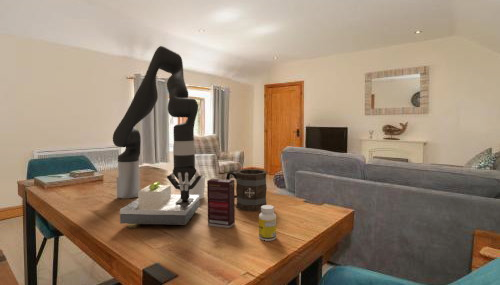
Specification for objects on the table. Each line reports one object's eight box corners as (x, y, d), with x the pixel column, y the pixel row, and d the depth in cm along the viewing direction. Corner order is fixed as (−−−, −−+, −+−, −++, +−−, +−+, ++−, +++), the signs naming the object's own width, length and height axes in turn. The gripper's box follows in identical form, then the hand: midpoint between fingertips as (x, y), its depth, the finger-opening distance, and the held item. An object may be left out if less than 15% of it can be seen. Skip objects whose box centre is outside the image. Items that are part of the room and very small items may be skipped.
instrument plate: (120, 213, 91) (119, 189, 90) (145, 197, 111) (145, 177, 110) (185, 215, 90) (184, 190, 89) (199, 198, 110) (199, 178, 109)
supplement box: (235, 223, 96) (235, 179, 95) (229, 228, 92) (229, 182, 91) (213, 220, 99) (213, 177, 98) (207, 225, 95) (206, 180, 93)
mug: (272, 204, 119) (273, 170, 118) (257, 213, 107) (257, 176, 106) (235, 198, 129) (235, 167, 128) (217, 205, 117) (217, 171, 116)
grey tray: (120, 229, 91) (120, 214, 91) (146, 210, 111) (145, 198, 111) (185, 230, 90) (185, 215, 90) (199, 211, 110) (199, 199, 110)
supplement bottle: (257, 234, 87) (257, 204, 86) (274, 233, 88) (274, 204, 87) (259, 241, 82) (260, 209, 81) (277, 241, 82) (278, 209, 82)
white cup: (207, 195, 134) (206, 175, 133) (202, 200, 126) (202, 178, 125) (191, 195, 134) (191, 175, 134) (186, 199, 127) (185, 178, 126)
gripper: (162, 154, 95) (163, 203, 96) (199, 154, 94) (200, 203, 96) (169, 152, 102) (170, 197, 104) (204, 152, 102) (205, 197, 103)
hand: (185, 200), depth 100 cm, fingers closed
